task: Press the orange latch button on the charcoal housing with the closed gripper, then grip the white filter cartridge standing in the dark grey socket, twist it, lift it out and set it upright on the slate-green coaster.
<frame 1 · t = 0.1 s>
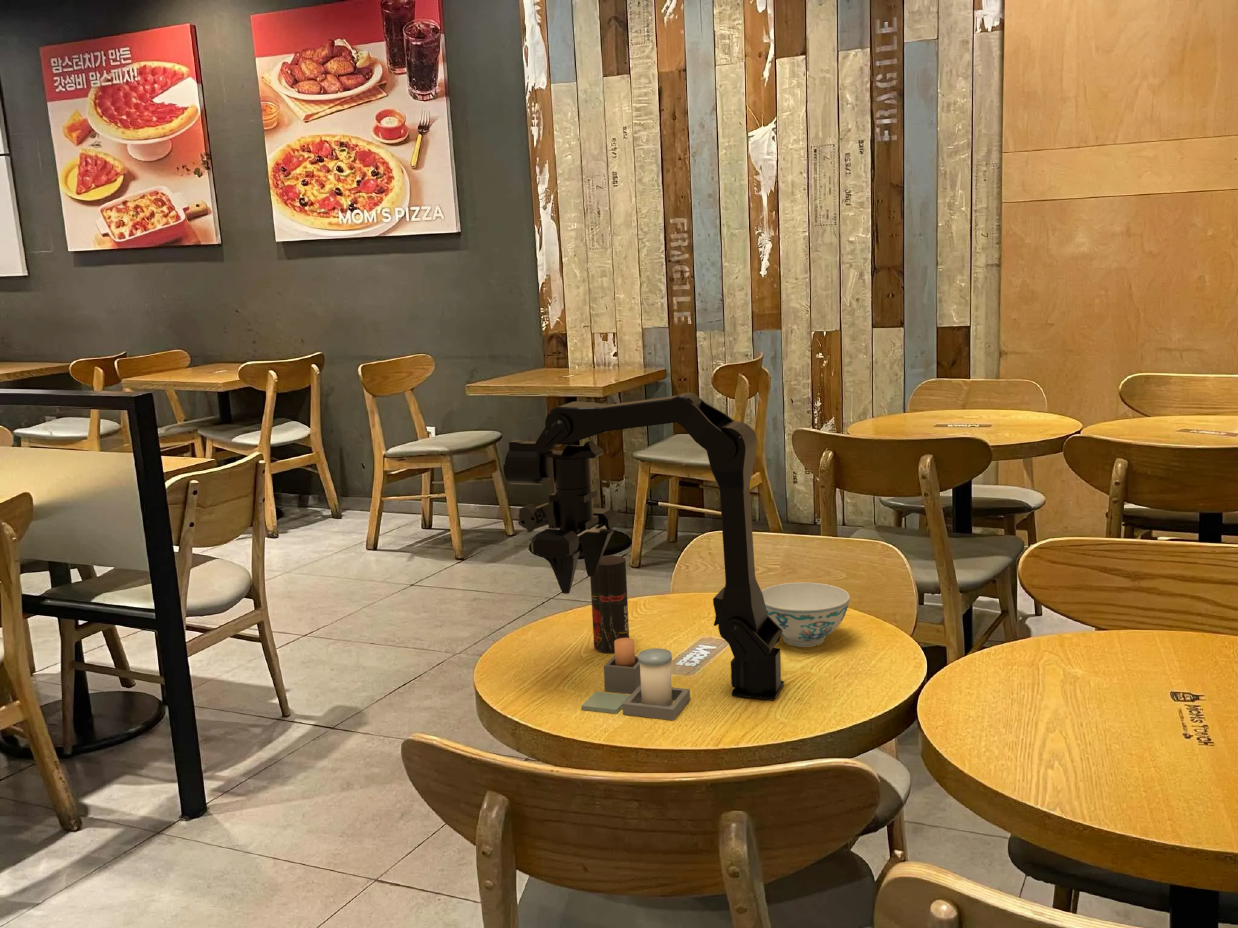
hand: (578, 584, 170), 14 cm above the table, tool pointing down, fingers open, 9 cm apart
cartridge: (655, 680, 157), in the socket
deodorant: (611, 648, 184), on the table
chinaware: (803, 641, 183), on the table
latch button: (624, 653, 165), point 5 cm above the table, slide at 0.0 cm
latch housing: (626, 686, 166), on the table
socket: (657, 706, 158), on the table
coaster: (606, 704, 160), on the table
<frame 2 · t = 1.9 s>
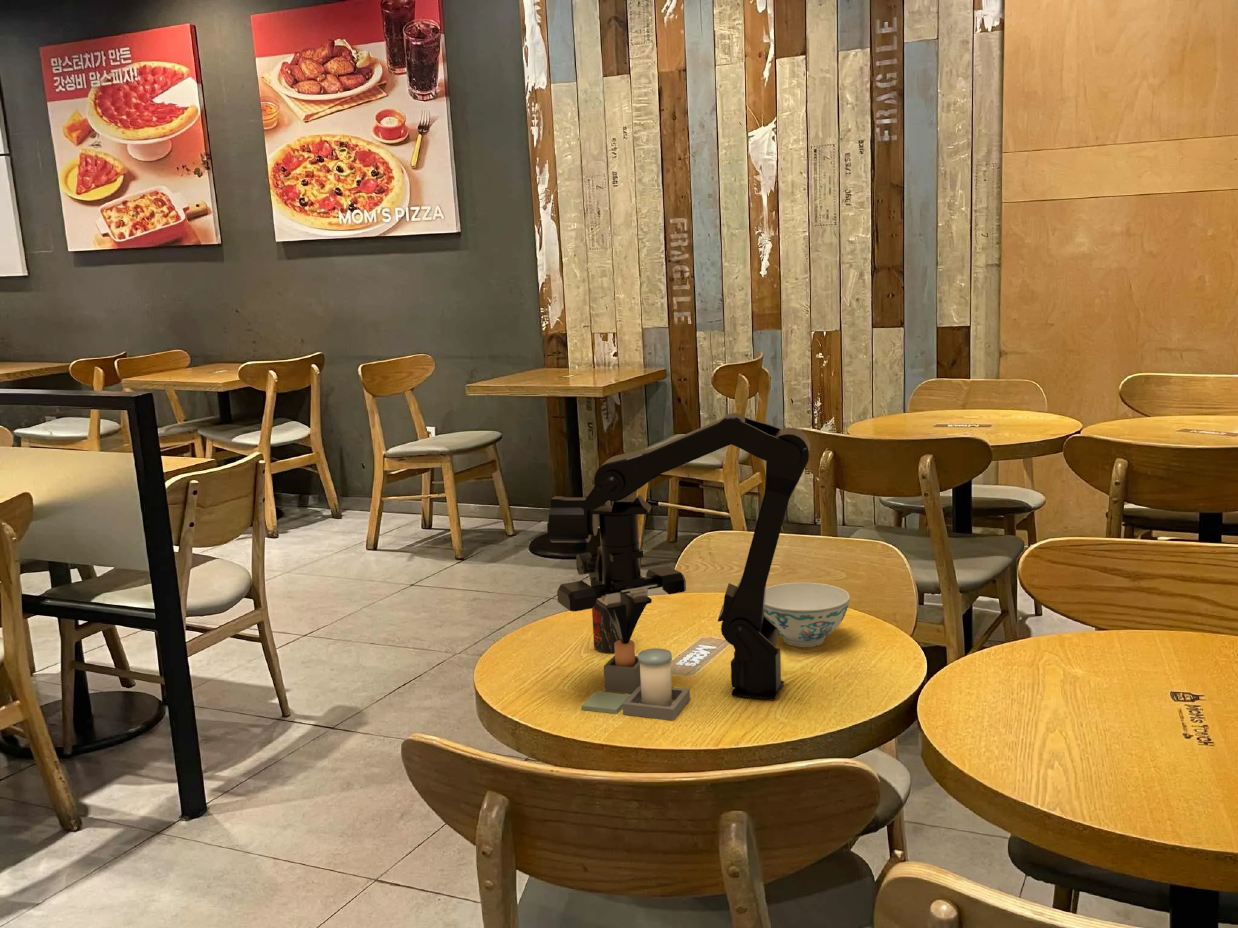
hand: (624, 642, 165), 7 cm above the table, tool pointing down, fingers closed, pressing on latch button
latch button: (624, 655, 165), point 5 cm above the table, slide at 0.3 cm, touching gripper
everything else where it was.
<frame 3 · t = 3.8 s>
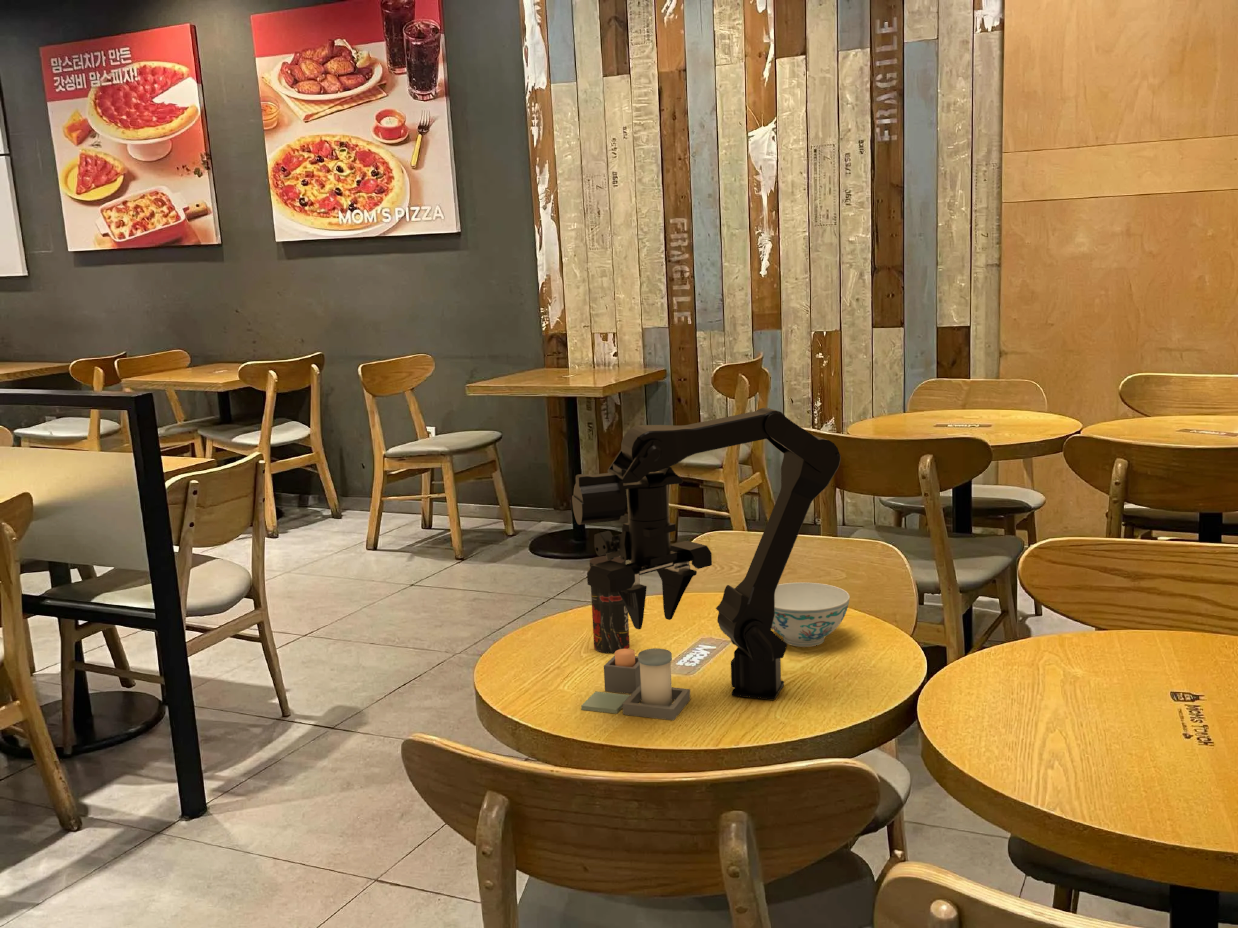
hand: (653, 623, 156), 12 cm above the table, tool pointing down, fingers open, 5 cm apart
latch button: (625, 664, 166), point 3 cm above the table, slide at 1.7 cm
everything else where it was.
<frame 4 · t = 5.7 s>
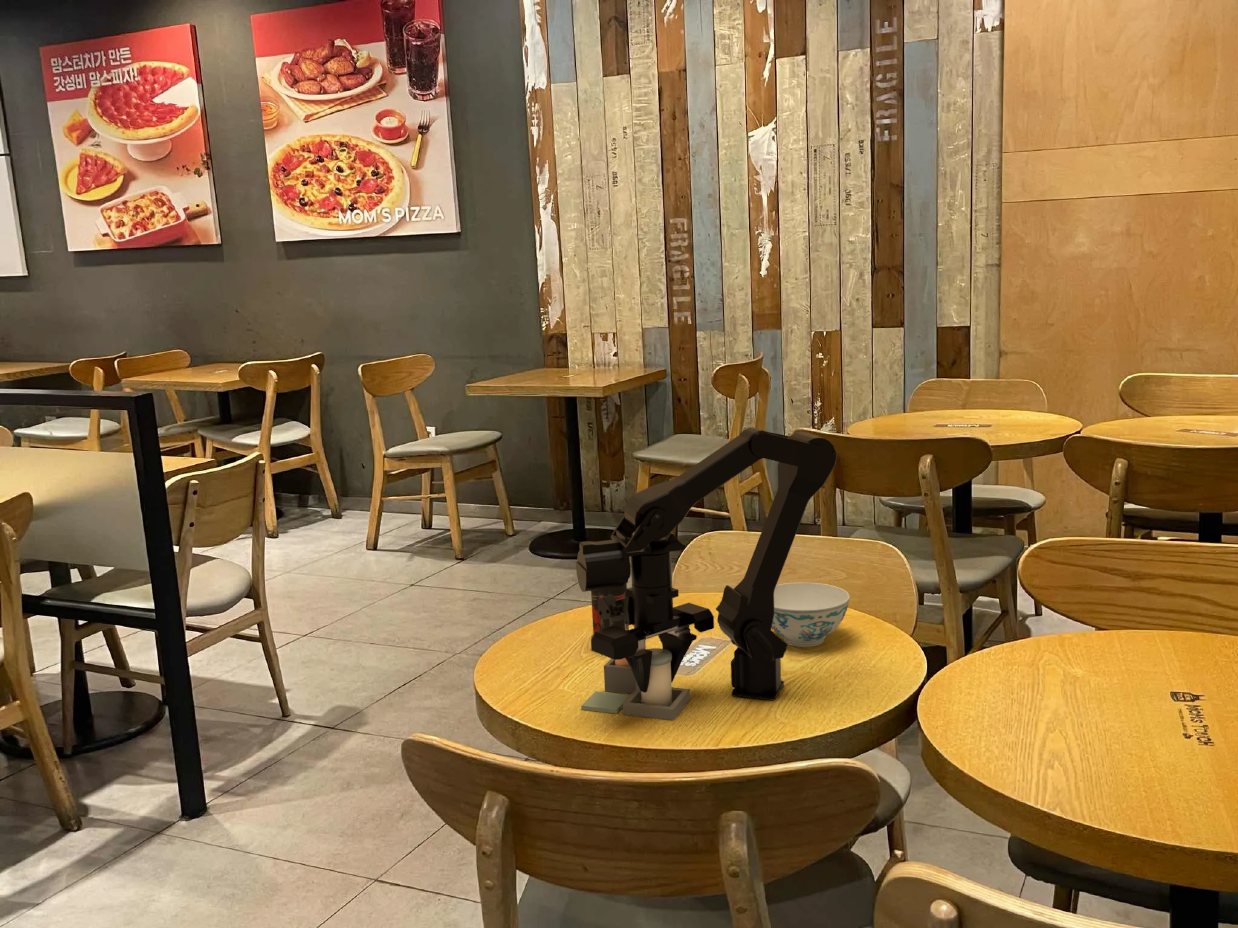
hand: (656, 686, 158), 3 cm above the table, tool pointing down, fingers closed on cartridge, 4 cm apart
cartridge: (655, 680, 157), in the socket, touching gripper
everything else where it was.
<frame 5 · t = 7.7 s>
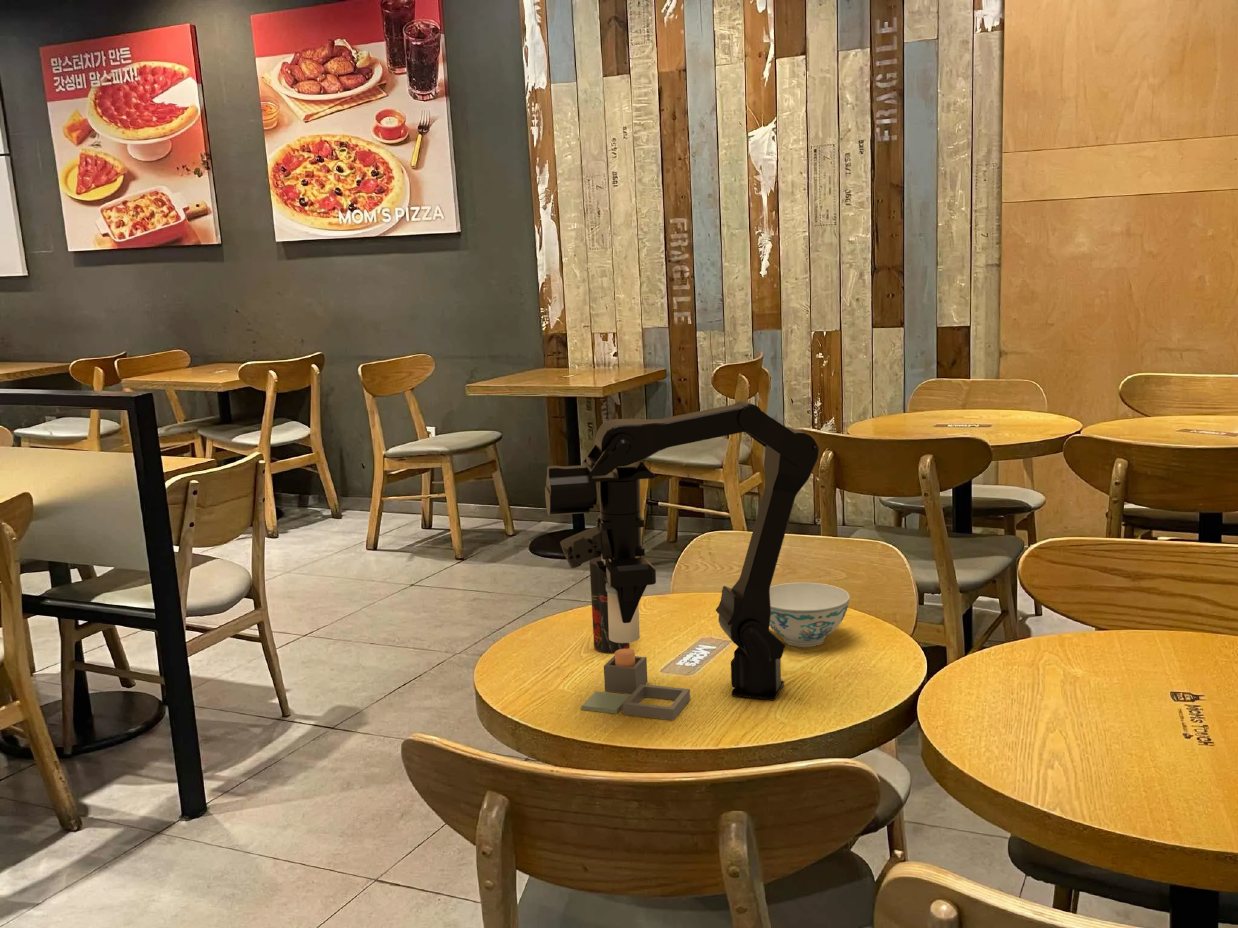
hand: (623, 617, 157), 13 cm above the table, tool pointing down, fingers closed on cartridge, 4 cm apart
cartridge: (623, 610, 156), point 14 cm above the table, touching gripper
everything else where it was.
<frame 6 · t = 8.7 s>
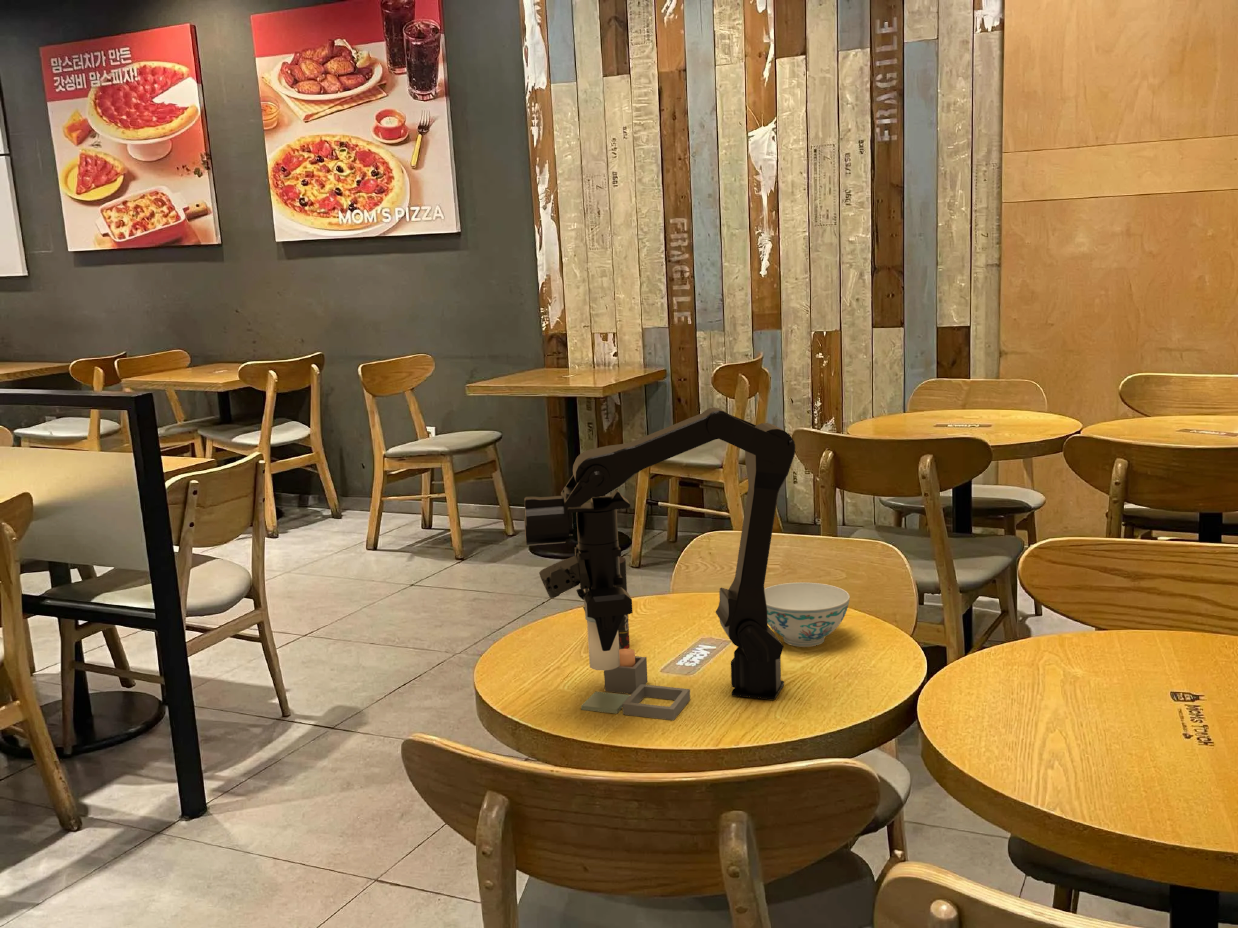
hand: (603, 644, 158), 9 cm above the table, tool pointing down, fingers closed on cartridge, 4 cm apart
cartridge: (603, 638, 158), point 10 cm above the table, touching gripper
everything else where it was.
when the fingers open (5 cm above the table, at t = 9.7 s): cartridge drops 2 cm, resting on coaster.
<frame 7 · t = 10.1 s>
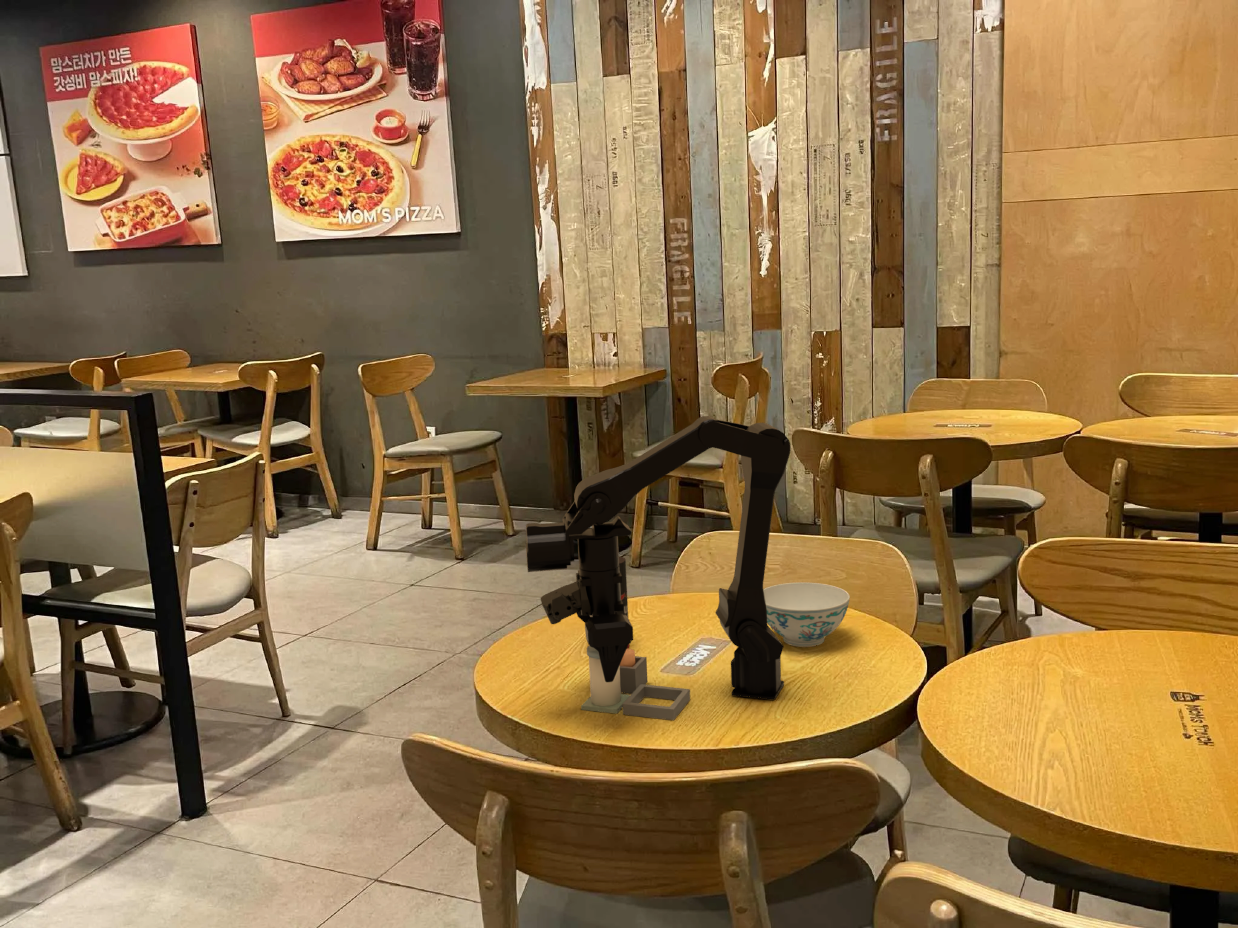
hand: (604, 670, 159), 5 cm above the table, tool pointing down, fingers open, 9 cm apart
cartridge: (604, 673, 159), on the coaster, point 5 cm above the table
everything else where it was.
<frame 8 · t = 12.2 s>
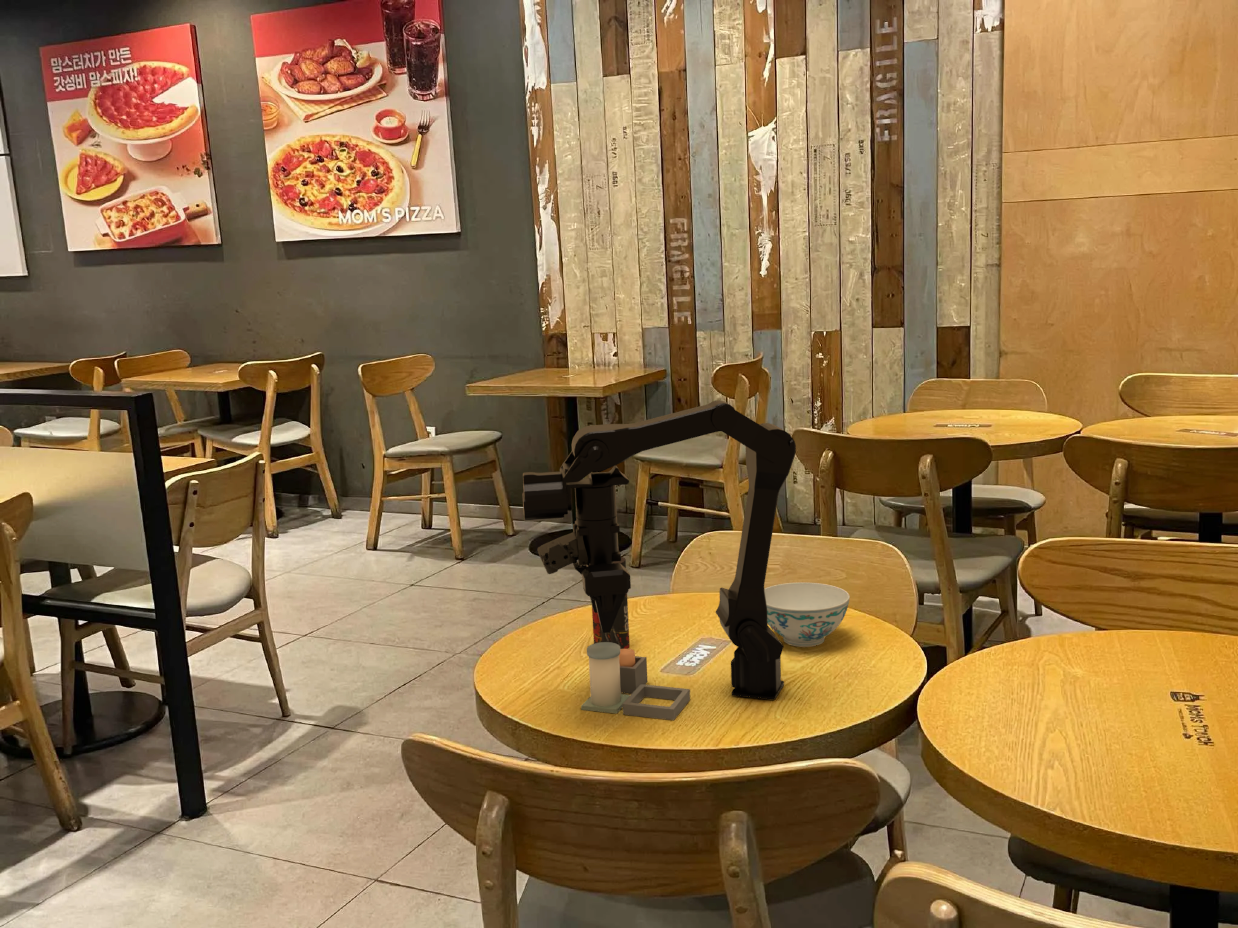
hand: (601, 622, 158), 12 cm above the table, tool pointing down, fingers open, 9 cm apart
nothing on the table moved.
at the end: cartridge 0.0 cm off-centre on the coaster, point 4.6 cm above the coaster's base; cartridge tilted 0°; latch button slide at 1.7 cm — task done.
